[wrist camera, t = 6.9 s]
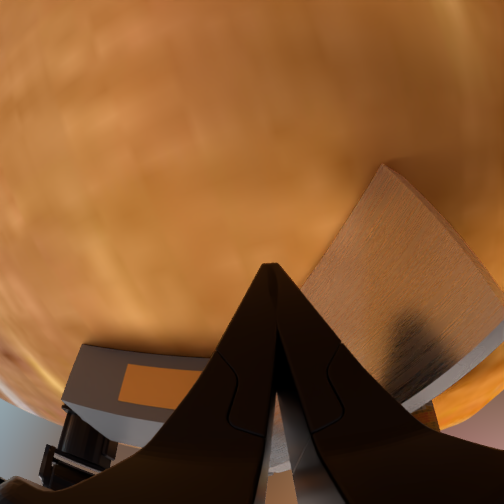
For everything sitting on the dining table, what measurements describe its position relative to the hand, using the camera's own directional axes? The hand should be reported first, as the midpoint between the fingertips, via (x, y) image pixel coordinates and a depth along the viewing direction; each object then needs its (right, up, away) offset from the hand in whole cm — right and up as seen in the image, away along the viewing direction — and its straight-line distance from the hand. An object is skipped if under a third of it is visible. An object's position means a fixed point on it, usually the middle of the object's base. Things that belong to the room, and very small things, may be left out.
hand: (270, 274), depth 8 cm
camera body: (-6, -9, +11) cm, 15 cm away
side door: (+3, -1, +4) cm, 5 cm away
